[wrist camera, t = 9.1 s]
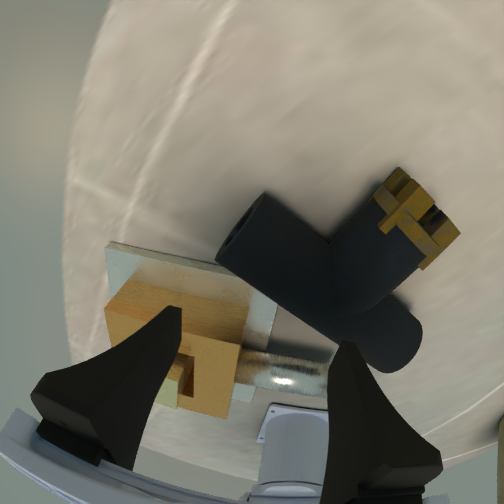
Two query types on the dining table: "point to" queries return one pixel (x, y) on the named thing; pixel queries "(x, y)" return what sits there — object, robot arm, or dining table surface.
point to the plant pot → (500, 464)
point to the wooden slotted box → (206, 327)
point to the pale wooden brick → (175, 381)
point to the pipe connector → (346, 267)
